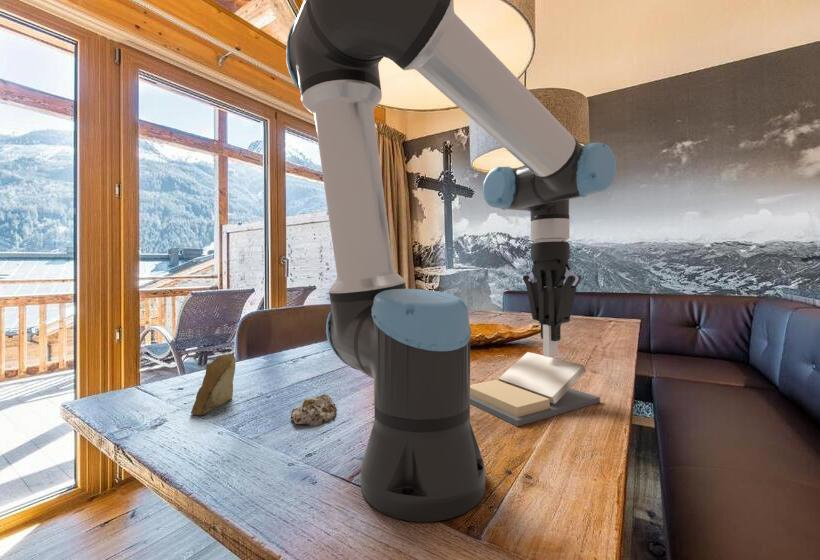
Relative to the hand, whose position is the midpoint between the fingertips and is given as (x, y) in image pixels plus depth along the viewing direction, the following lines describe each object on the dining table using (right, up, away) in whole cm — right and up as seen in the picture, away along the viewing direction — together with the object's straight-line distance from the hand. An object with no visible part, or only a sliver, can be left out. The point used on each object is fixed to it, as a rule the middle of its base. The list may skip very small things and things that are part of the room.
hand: (550, 355), depth 77 cm
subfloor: (-6, -8, -3) cm, 11 cm away
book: (-2, -4, -1) cm, 5 cm away
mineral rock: (-46, -9, -9) cm, 48 cm away
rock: (-68, -9, -4) cm, 69 cm away
